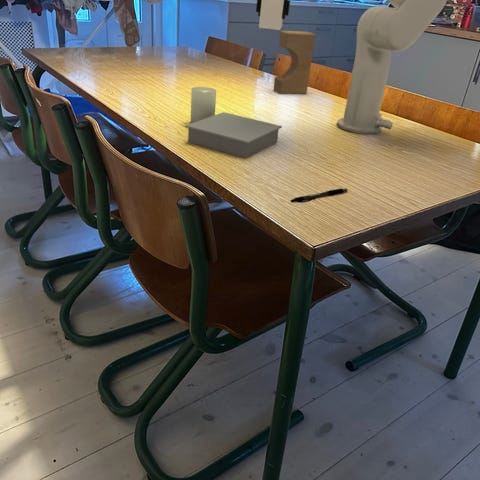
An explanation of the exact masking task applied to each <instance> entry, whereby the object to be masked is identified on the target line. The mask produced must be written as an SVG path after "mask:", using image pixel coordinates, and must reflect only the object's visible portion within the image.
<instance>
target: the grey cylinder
mask: <svg viewBox="0 0 480 480" xmlns="http://www.w3.org/2000/svg"><path fill="white" fill-rule="evenodd" d="M190 93H191V98H190V99H191V100H190V122H189V124H190V123H194V122H197V121H200V120H203V119H205V118H208V117H211V116H214V115H216V105H217V104H216V103H217V102H216V101H217V100H216V99H217V89H215V88H212V87H206V86H194V87H192V88H191V92H190Z"/></svg>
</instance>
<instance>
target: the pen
mask: <svg viewBox="0 0 480 480" xmlns="http://www.w3.org/2000/svg"><path fill="white" fill-rule="evenodd" d="M348 191H349V189H348V188H335V189H331V190H326V191H323V192H318V193H317V192H316V193H313V194H308V195H303V196H297V197H294V198H291V199H290V202H291V203H309V202H310V201H313V200H316V199H320V198H324V197H331V196H336V195H341V194H344V193H346V192H348Z"/></svg>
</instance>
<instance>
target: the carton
mask: <svg viewBox="0 0 480 480" xmlns="http://www.w3.org/2000/svg"><path fill="white" fill-rule="evenodd" d="M284 1H285V0H262V3H261V12H260V16H259V24H258V28H259V29H267V30H275V31H281V30H282V28H283V22H284V19H282V13H283V5H284Z"/></svg>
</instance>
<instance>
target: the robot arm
mask: <svg viewBox="0 0 480 480" xmlns="http://www.w3.org/2000/svg"><path fill="white" fill-rule="evenodd" d="M447 1H448V0H389V2H390V4H391V6H393V7H391V6H385V5H377V6H372V7H370V8H368V9H367V10H365V12H363V13H362V15H361V16H360V18H359V20H358V23H357V28H356V47H355V55H354V56H355V57H354V61H353V62H354V63H353V68H352V72H351V76H350V77H351V78H350V82H349V86H348V87H349V88H348V93H347V98H346V104H345V108H344V109H345V110H344V113H343V118H339V119H337V121H336V125H337V127H339V129H342V130H344V131H348V132H351V133H355V134H356V133H357V134H365V135H374V134H379V133H381V131H382V128H384V129H388V130H391V129H392V128H393V124H394V123H393V122H394V121H393V122H392V121H391V120H390V119H383V117H382V116H383V113H380V111H381V107H382V103H383V98H384V94H385V90H386V85H387V80H388V76H389V72H390V67H391V58H392V57H391V52H395V53H397V52H398V53H399V52H402V51H405V50H407V49H408V48H410V47H411V46H413V44H414V43H415V42H416V41H417V40H418V39H419V38H420V37H421V36H422V35H423V33H424V32H425V31H426V30H427V28H429V26H430V25H431V24H432V22H433V21H434V20H435V19H436V18H437V16H439V14H440V12H442V10H443V9H444V7H445V6H446V3H447ZM261 3H262V0H256V7H255V9H256V10H255V12H256V13H258V15H257V16H258V17H260V12H261ZM290 5H291V0H285V1H284V5H283V13H282V19H283V20H286V16H289V13H290V12H289V11H290Z"/></svg>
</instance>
